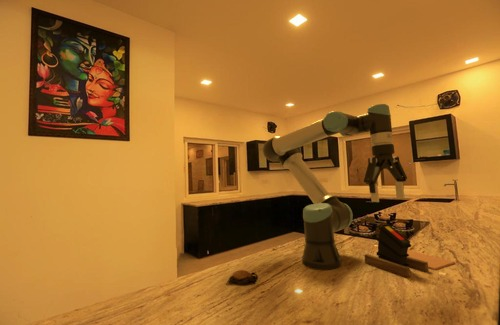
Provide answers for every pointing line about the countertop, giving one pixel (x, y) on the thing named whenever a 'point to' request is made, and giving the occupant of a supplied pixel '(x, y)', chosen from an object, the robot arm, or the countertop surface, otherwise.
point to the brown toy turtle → (242, 278)
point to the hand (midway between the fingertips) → (388, 200)
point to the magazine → (392, 245)
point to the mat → (430, 260)
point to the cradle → (397, 265)
